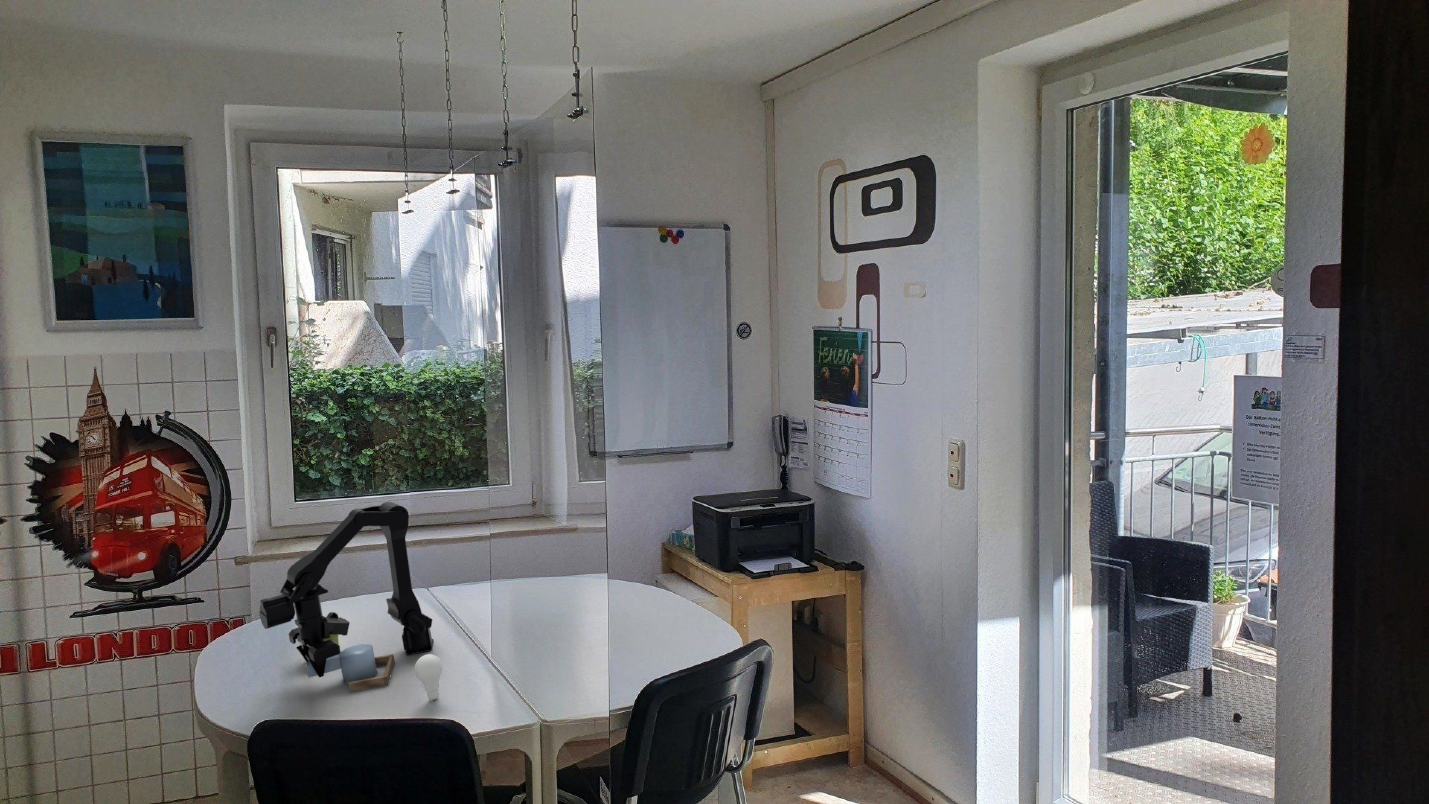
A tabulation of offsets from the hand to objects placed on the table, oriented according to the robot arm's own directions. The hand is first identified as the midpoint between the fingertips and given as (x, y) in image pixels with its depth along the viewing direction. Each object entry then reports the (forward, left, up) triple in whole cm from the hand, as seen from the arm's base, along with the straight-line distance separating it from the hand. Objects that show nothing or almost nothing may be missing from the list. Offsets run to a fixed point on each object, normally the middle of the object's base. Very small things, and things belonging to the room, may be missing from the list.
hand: (319, 675), depth 235 cm
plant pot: (+2, -17, -4) cm, 17 cm away
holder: (-12, -1, -3) cm, 12 cm away
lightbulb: (-28, +17, -4) cm, 33 cm away
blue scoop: (-5, -1, -3) cm, 6 cm away
